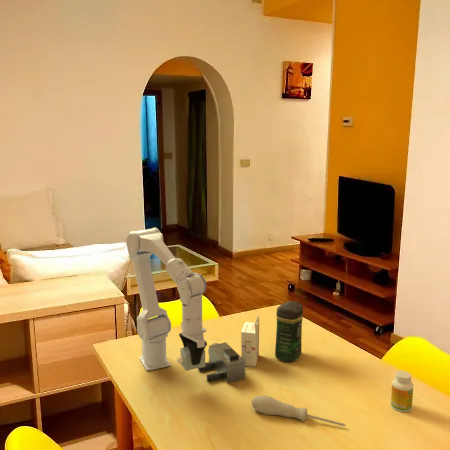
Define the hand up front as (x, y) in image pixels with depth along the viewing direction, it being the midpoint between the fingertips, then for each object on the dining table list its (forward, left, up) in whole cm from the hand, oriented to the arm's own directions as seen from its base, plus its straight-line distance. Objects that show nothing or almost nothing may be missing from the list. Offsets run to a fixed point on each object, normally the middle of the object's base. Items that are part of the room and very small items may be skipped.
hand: (192, 360), depth 135 cm
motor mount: (-5, +10, -8) cm, 14 cm away
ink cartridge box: (-7, +23, -9) cm, 25 cm away
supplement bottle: (+34, +48, -9) cm, 59 cm away
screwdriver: (+26, +19, -9) cm, 33 cm away
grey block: (0, 0, -2) cm, 2 cm away
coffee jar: (-4, +36, -9) cm, 37 cm away
